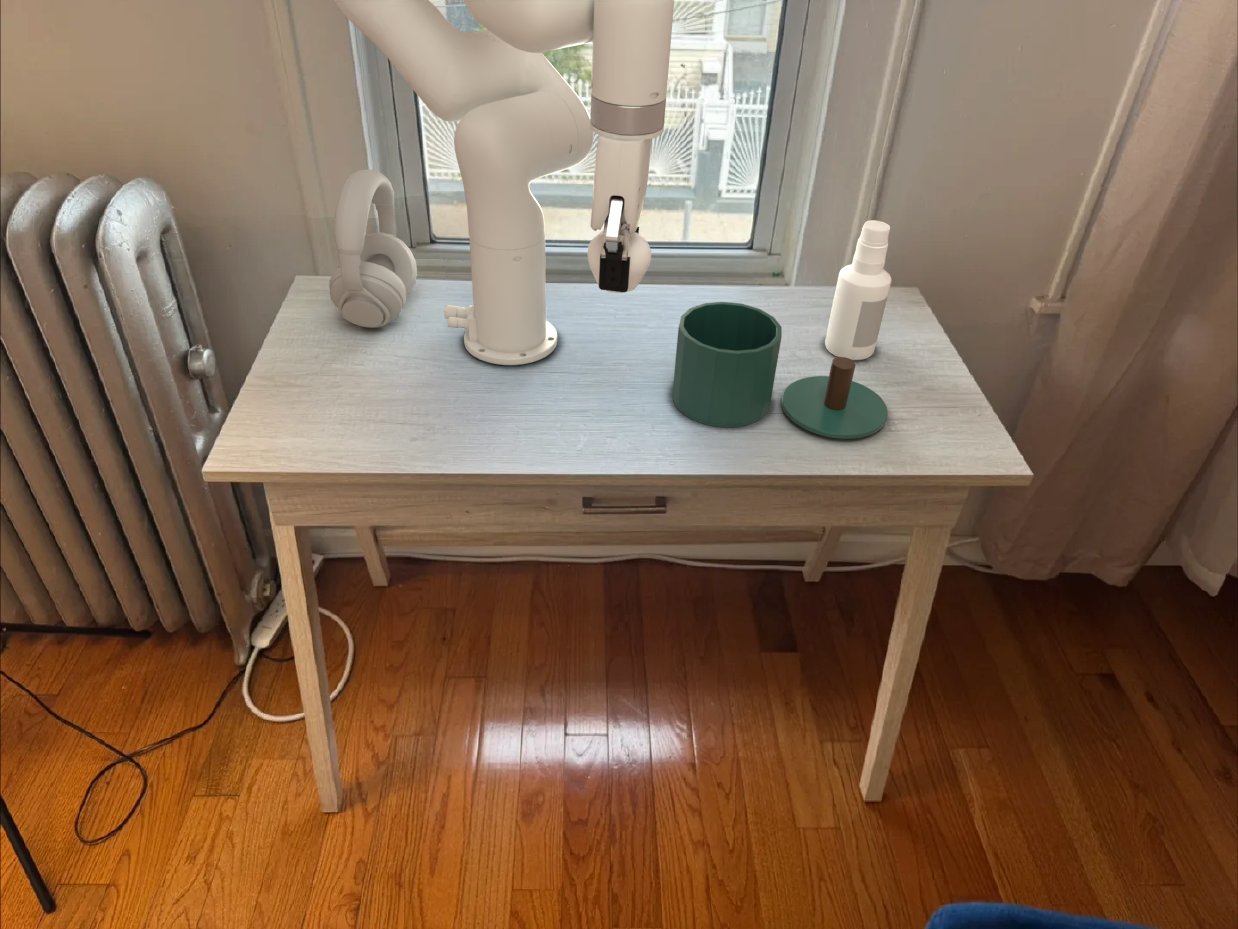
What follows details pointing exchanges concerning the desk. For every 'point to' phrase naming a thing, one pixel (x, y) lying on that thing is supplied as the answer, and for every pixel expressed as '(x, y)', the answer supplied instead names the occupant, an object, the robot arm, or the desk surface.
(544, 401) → the desk surface
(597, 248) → the plain white apple
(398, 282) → the headphones
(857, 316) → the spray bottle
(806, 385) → the lid
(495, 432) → the desk surface
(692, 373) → the pot
